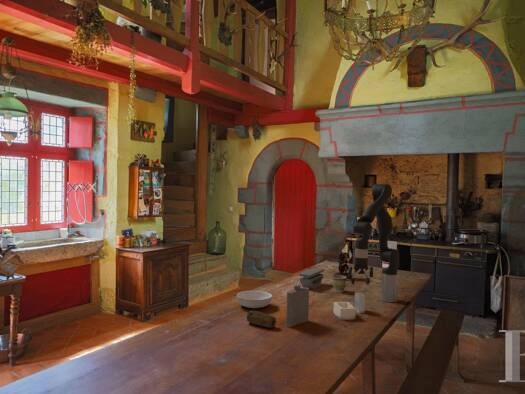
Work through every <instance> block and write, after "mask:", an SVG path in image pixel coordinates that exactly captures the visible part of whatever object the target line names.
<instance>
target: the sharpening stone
mask: <svg viewBox="0 0 525 394" xmlns="http://www.w3.org/2000/svg"><path fill="white" fill-rule="evenodd" d="M324 271H325V268H318V267H313V268H311V269H308V270H305V271H302V272H300V273H299V274H298V275H299V277H300V278H299V282H300V285H301V287H302V288H304V287H307V288H309V290H310V289H311V290H315V289H316V288H318V287H320V286H321V284H322V282H323V279H324V273H323V272H324Z"/></svg>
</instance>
